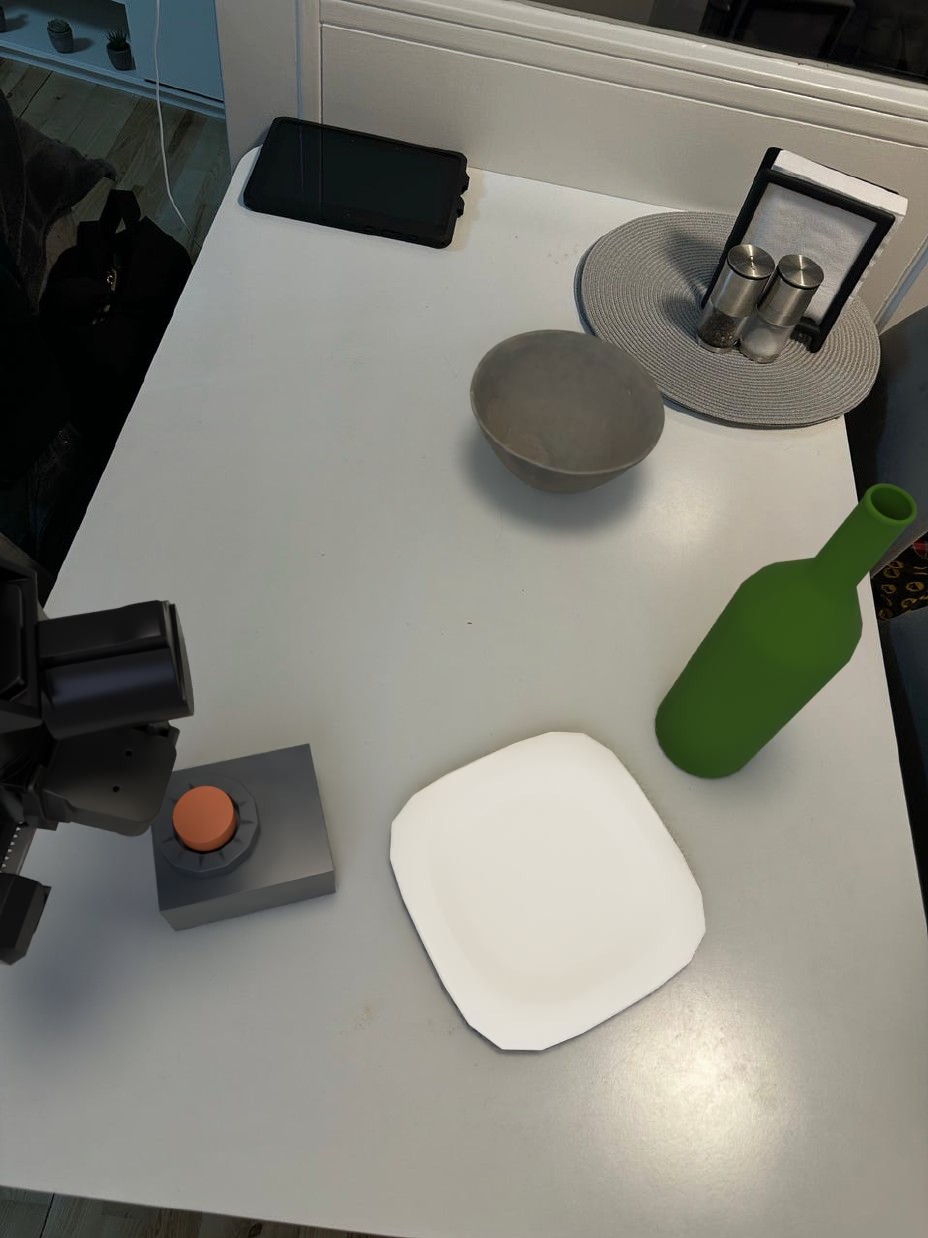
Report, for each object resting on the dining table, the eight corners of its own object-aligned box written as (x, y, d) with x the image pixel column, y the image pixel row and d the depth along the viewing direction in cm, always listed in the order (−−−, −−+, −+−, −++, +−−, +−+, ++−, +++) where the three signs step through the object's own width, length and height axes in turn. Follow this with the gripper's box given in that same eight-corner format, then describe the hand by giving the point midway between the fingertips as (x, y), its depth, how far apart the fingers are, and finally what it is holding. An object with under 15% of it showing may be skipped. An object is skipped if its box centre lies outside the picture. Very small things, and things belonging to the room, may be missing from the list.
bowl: (437, 415, 94) (445, 342, 86) (597, 389, 99) (619, 317, 90) (494, 554, 86) (509, 488, 77) (666, 518, 90) (698, 452, 82)
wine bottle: (723, 677, 81) (913, 432, 54) (770, 765, 77) (1001, 548, 49) (637, 700, 79) (788, 457, 51) (680, 792, 75) (869, 581, 47)
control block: (175, 932, 65) (154, 906, 58) (161, 804, 70) (140, 767, 63) (336, 892, 68) (333, 863, 61) (312, 772, 72) (308, 733, 66)
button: (181, 857, 60) (176, 848, 59) (175, 802, 62) (169, 792, 61) (240, 843, 61) (236, 835, 60) (232, 790, 63) (228, 780, 61)
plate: (586, 714, 78) (590, 706, 76) (731, 944, 69) (739, 940, 67) (361, 818, 71) (361, 811, 69) (489, 1089, 62) (492, 1088, 60)
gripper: (76, 949, 38) (148, 1002, 51) (195, 590, 48) (229, 712, 61) (-186, 912, 37) (-46, 975, 51) (-13, 558, 47) (67, 688, 60)
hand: (65, 826), depth 56 cm, fingers open, 9 cm apart
